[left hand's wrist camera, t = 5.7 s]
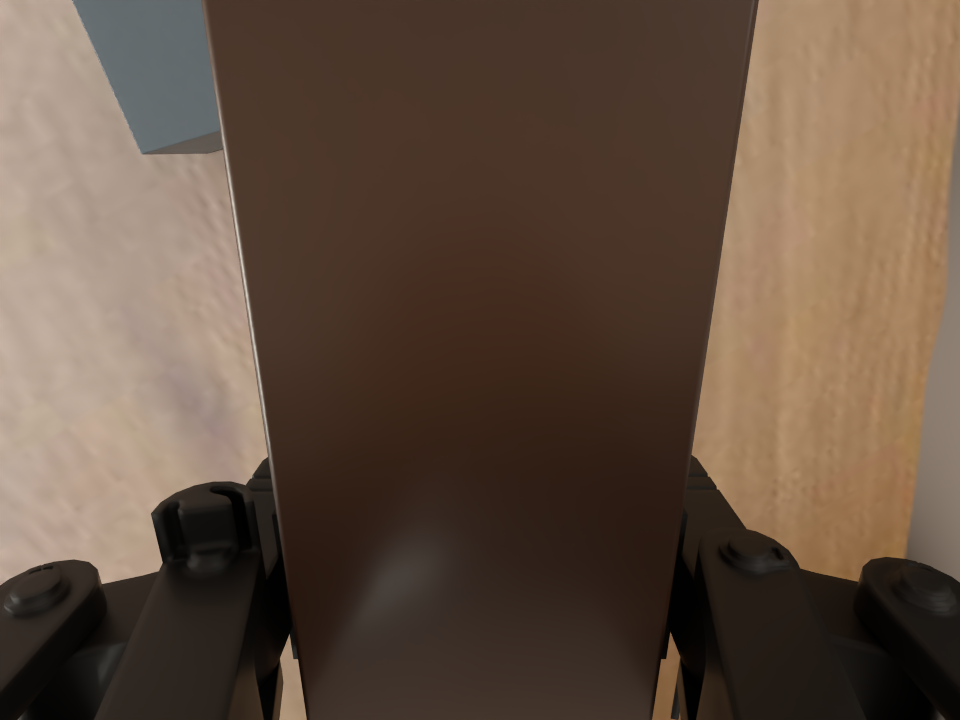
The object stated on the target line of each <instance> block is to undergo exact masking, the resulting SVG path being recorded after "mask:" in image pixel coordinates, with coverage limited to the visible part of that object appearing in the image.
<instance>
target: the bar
mask: <svg viewBox="0 0 960 720" xmlns="http://www.w3.org/2000/svg"><path fill="white" fill-rule="evenodd" d="M758 1H759V0H201V4H202V11H203V17H204V24H205V31H206V38H207V45H208V51H209V58H210V65H211V72H212V79H213V85H214V92H215V99H216V106H217V112H218V119H219V126H220V133H221V140H222V146H223V153H224V160H225V167H226V173H227V180H228V187H229V194H230V201H231V207H232V214H233V221H234V228H235V235H236V241H237V248H238V255H239V262H240V268H241V275H242V282H243V289H244V296H245V302H246V309H247V316H248V323H249V329H250V336H251V343H252V350H253V357H254V363H255V370H256V377H257V384H258V391H259V397H260V404H261V411H262V418H263V424H264V431H265V438H266V445H267V452H268V458H269V465H270V472H271V479H272V486H273V492H274V499H275V506H276V513H277V519H278V526H279V533H280V540H281V547H282V553H283V560H284V567H285V574H286V580H287V587H288V594H289V601H290V608H291V614H292V621H293V628H294V635H295V642H296V648H297V655H298V662H299V669H300V675H301V682H302V689H303V696H304V703H305V709H306V716H307V720H652V716H653V710H654V703H655V696H656V689H657V683H658V676H659V669H660V662H661V656H662V649H663V642H664V635H665V629H666V622H667V615H668V608H669V602H670V595H671V588H672V581H673V575H674V568H675V561H676V554H677V548H678V541H679V534H680V528H681V521H682V514H683V507H684V501H685V494H686V487H687V480H688V474H689V467H690V460H691V453H692V447H693V440H694V433H695V426H696V420H697V413H698V406H699V399H700V393H701V386H702V379H703V372H704V366H705V359H706V352H707V345H708V339H709V332H710V325H711V318H712V312H713V305H714V298H715V291H716V285H717V278H718V271H719V264H720V258H721V251H722V244H723V237H724V231H725V224H726V217H727V210H728V204H729V197H730V190H731V183H732V177H733V170H734V163H735V156H736V150H737V143H738V136H739V129H740V123H741V116H742V109H743V102H744V96H745V89H746V82H747V75H748V69H749V62H750V55H751V48H752V42H753V35H754V28H755V21H756V15H757V8H758Z"/></svg>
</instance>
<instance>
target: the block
mask: <svg viewBox="0 0 960 720" xmlns="http://www.w3.org/2000/svg"><path fill="white" fill-rule="evenodd" d="M72 1H73V3H74V6H75V8H76V10H77V12H78V15H79V17H80V19H81V21H82V23H83V26H84V28H85V30H86V32H87V35H88V37H89V39H90V41H91V43H92V46H93V48H94V50H95V52H96V55H97V57H98V59H99V61H100V63H101V66H102V68H103V70H104V72H105V75H106V77H107V79H108V81H109V84H110V86H111V88H112V90H113V92H114V95H115V97H116V99H117V101H118V104H119V106H120V108H121V110H122V112H123V115H124V117H125V119H126V121H127V124H128V126H129V128H130V130H131V132H132V135H133V137H134V139H135V141H136V144H137V146H138V148H139V150H140V153H141V154H205V153H211V152H214V151H218V150H221V149H223V146H222V140H221V133H220V126H219V119H218V112H217V106H216V99H215V92H214V85H213V79H212V72H211V65H210V58H209V51H208V45H207V38H206V31H205V24H204V17H203V11H202V4H201V0H72Z"/></svg>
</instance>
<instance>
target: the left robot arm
mask: <svg viewBox="0 0 960 720" xmlns="http://www.w3.org/2000/svg"><path fill="white" fill-rule="evenodd" d="M151 516H152V520H153V524H154V528H155V532H156V536H157V541H158V545H159V549H160V553H161V557H162V561H163V564H162V566H161V568H160V571H158V572H154V573H151V574H147V575H143V576H139V577H134V578H129V579H125V580H120V581H115V582H111V583H106V584H102V583H101V580H100V576H99V573H98V570H97V569H96V568H95V567H94V566H93V565H92V564H91V563H89V562H85V561H79V560H66V561H57V562H52V563H47V564H44V565H42V566H41V565H40V566H37V567H34V568H31V569H29V570H27V571H25V572H23V573H21V574H19V575H17V576H15V577H13V578H11V579H9V580H7V581H6V582H5V583H3V584H2V585H0V720H279V717H280V708H281V699H282V690H283V676H282V669H281V663H280V656H281V654H282V651H283V649H284V646H285V644H286V641H287V639H288V636H289V634H290V639H291V645H292V652H293V659H298V655H297V648H296V642H295V635H294V628H293V621H292V614H291V608H290V601H289V594H288V587H287V580H286V574H285V567H284V560H283V553H282V547H281V540H280V533H279V526H278V519H277V513H276V506H275V499H274V492H273V486H272V479H271V472H270V465H269V458H268V457H267V458H266V459H265V460H263V461H262V463H261V464H260V466H259V467H258V468H257V470H256V471H255V473H254V474H253V476H252V479H250V480H249V481H248V483H247V484H246V486H245V485H243V484H239V483H235V482H210V483H205V484H200V485H195V486H192V487H190V488H187V489H184V490H182V491H179V492H177V493H175V494H173V495H172V496H170V497H169V498H167V499H165V500H164V501H162V502H161V503H160V504H159V505H158V506H157V507H156V509H155V510H154V511H153V512H152V513H151ZM670 632H671V634H672V637H673V639H674V642H675V644H676V647H677V649H678V652H679V654H680V663H679V669H678V675H677V681H676V687H675V693H674V699H673V706H672V713H671V719H676V720H678V719H679V713H680V716H681V720H960V583H959V582H958V581H957V580H955V579H954V578H953V577H951V576H949V575H947V574H945V573H943V572H941V571H938V570H936V569H934V568H933V567H931V566H928V565H925V564H922V563H917V562H916V561H911V560H907V559H900V558H891V557H883V558H878V559H872V560H870V561H869V562H868V563H867V564H865V565H864V566H863V568H862V571H861V575H860V578H859V582H856V581H851V580H847V579H842V578H837V577H833V576H828V575H823V574H819V573H814V572H811V571H807V570H804V569H800V567H799V565H798V563H797V561H796V560H795V558H794V557H793V556H792V554H791V553H790V552H789V550H788V549H786V548H785V547H783V546H782V545H781V544H779V543H778V542H777V541H775V540H774V539H772V538H770V537H767V536H765V535H763V534H761V533H758V532H756V531H752V530H748V529H746V528H745V526H744V525H743V523H742V522H741V520H740V519H739V518H738V516H737V515H736V513H735V512H734V511H733V509H732V508H731V506H730V505H729V503H728V502H727V501H726V499H725V498H724V496H723V495H722V494H721V492H720V491H719V490H717V488H716V485H715V484H714V482H713V481H712V479H711V478H710V477H708V474H707V472H706V471H705V469H704V468H703V467H702V465H701V464H700V462H699V461H698V460H697V458H695V457H694V456H692V455H691V460H690V467H689V474H688V480H687V487H686V494H685V501H684V507H683V514H682V521H681V528H680V534H679V541H678V548H677V554H676V561H675V568H674V575H673V581H672V588H671V595H670V602H669V608H668V615H667V622H666V629H665V635H664V642H663V649H662V656H661V659H666V656H667V650H668V643H669V636H670Z"/></svg>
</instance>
